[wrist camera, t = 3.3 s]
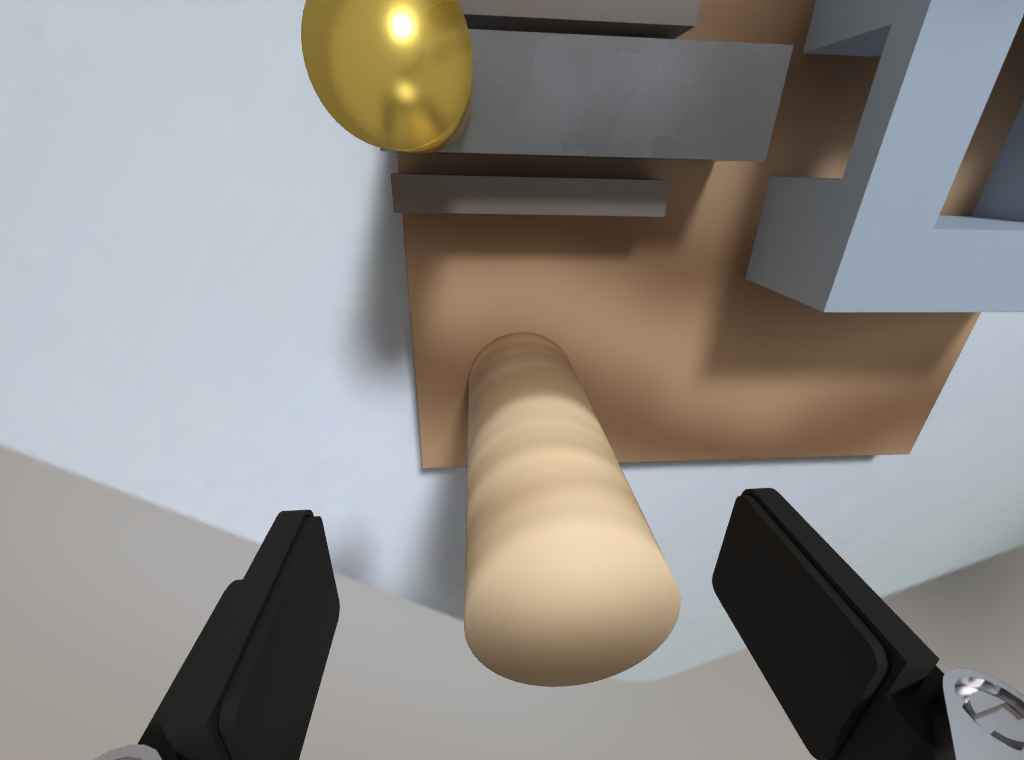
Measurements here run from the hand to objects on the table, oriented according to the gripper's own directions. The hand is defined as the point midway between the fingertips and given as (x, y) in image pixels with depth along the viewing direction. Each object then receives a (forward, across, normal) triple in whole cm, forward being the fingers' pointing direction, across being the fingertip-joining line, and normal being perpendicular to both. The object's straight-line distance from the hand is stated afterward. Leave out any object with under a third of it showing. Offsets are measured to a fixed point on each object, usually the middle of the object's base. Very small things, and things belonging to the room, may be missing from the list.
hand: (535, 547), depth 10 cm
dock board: (+9, -8, -5) cm, 13 cm away
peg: (+8, -1, 0) cm, 8 cm away
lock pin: (+8, -1, -9) cm, 12 cm away
